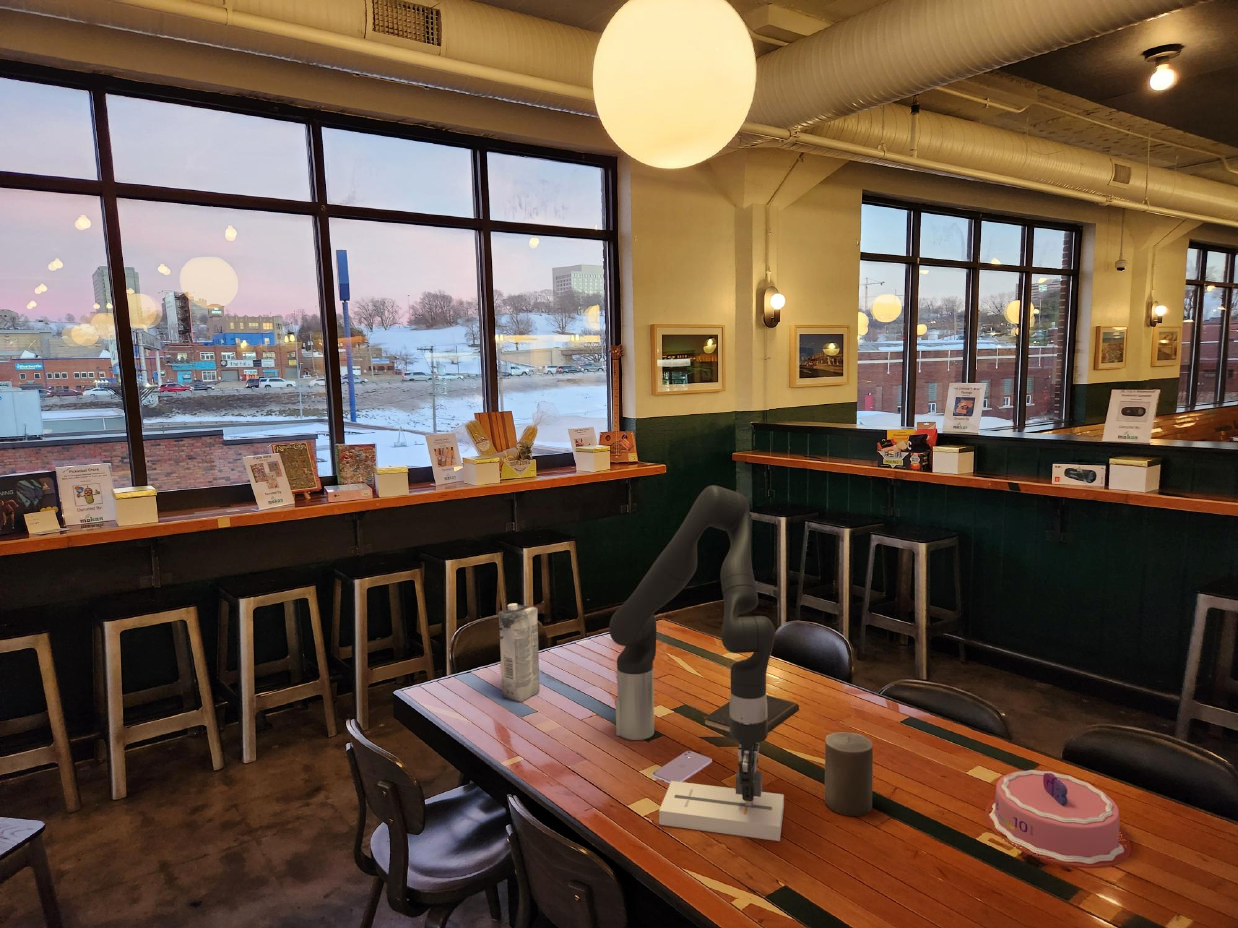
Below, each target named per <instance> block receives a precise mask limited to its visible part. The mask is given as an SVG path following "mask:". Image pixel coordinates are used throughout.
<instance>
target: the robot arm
mask: <svg viewBox="0 0 1238 928" xmlns="http://www.w3.org/2000/svg"><path fill="white" fill-rule="evenodd" d="M710 527H712V528H715V529H718V530H721V531H723V532H726V533H727V535H728V538H729V542H730V546H729V547H730V548H729V550H728V553H727V555H725V558H724V561H723V562H722V564H721V568H720V573H719V574H720V585H721V591H722V592H721V593H722V597H723V604H724V605H723V606H724V609H723V610H724V611H723V612H724V613H723V621H722V627H721V632H720V636H721V637H720V639H721V644H722V646H723V647H724V649H725V650H726V651H727V652H730V654H743V653H744V654H745V653H747V654H748V653H752V654H751V656H750V657H747V658H745V659H742V660H738V661H736V662H735V663H733V664H732V665H731V668H730V696H729V697H730V698H729V702H730V732H729V735H730V737H731V739H732V740H734V741H736V742H738V743H739V746H738V747H737V756H738V763H737V764H738V765H737V766H738V770H739V776H740V785H742V799H743V800H744V801H753V799H754V782H755V780H754V773H755V772H758V769H757V768H758V766H757V765H758V763H759V759H760V758H759V752H760V743H762V742H765V740H766V739H767V738H768V733H767V698H766V695H767V669H768V665H769V661H770V658H771V654H772V651H773V648H774V643H775V638H776V629H775V625H774V623H773V622H772V621H771V619H770V618H769V617H767V616H763V615H754V616H740V615H742V614H746V613H749V612H752V611H753V610H755V609H756V608H757V607H758V604H759V594H758V589H757V584H756V580H755V576H754V570H753V564H752V563H753V562H752V543H751V542H752V536H751V535H752V534H751V511H750V504H749V502H748V499H747V497H745V495H743V494H741V493H739V492H737V491H734V490H731V489H728V488H725V487H722V486H719V485H709V486H707V487H705V488H704V489H703V490H702V492H700V494H699V495H698V497H697V498H696V500H695V501H694V503H693V505H692V507H691V508H690V509H689V512H688V513H687V515H686V516H685V518H684V520H683V522H682V524H681V525H680V527H679V529H678V530H677V531H676V532H675V534H674V536H673V537H672V539H671V540H670V541H669V542H668V544H667V546H665V548H664V549H663V550H662V552H661V553H660V554H659V555H658V556H657V558H656V560H655V561H654V562H653V564H652V565H651V567H650V569H649V570H648V571H647V573H646V574H645V576H644V577H643V578H642V580H641V581H640V582H639V584H638V586H637V587H636V588H635V590H634V591H633V592H632V593H631V594H630V596H629V598H627V600H625V601H624V603H623V604H622V605H621V606H620V607H619V608H618V609H617V610H616V611H615V612H614V613H613V614H612V616H611V618H610V620H609V625H608V628H609V635H610V637H611V640H612V641H613V642H614V643H615V644H617V645H619V646H621V647H624V648H623V650H622V651H621V652H620V654H619V655H618V656H617V659H616V675H617V676H616V678H617V679H616V681H617V683H616V685H617V696H616V698H615V700H614V701H615V732H616V733H615V735H616V736H618V737H621V738H623V739H626V740H631V741H642V740H646V739H649V738H651V737H652V736H653V735H654V734H655V705H654V704H655V703H654V701H655V700H654V699H655V698H654V695H655V693H654V661H655V658H656V653H657V621H656V616H655V613H656V612H657V611H658V610H660V609H661V608H662V607H664V606H665V605H666V604H667V603H668V602H670V601H671V600H672V599H674V598H675V597H676V596H677V595H678V594H679V593H680V592H681V591H682V590H683V589H684V588H685V587H686V586H687V584H688V583H689V582H690V580H691V579H692V578H693V576H694V575H695V573H696V571H697V569H698V541H699V540H700V537H701V536H702V535H703V533H704V532H705V530H706V529H707V528H710Z"/></svg>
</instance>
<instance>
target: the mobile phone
mask: <svg viewBox="0 0 1238 928" xmlns="http://www.w3.org/2000/svg"><path fill="white" fill-rule="evenodd" d="M712 762H713V760H712V758H711V757H709V756H705V755H703V754H700V753H697V752H694V751H692V750H687V751H685V752H683V753H682V754H680V755H679V756H677V757H676V758H674V759H671V761H669V762H667V763H666V764H664V765H663V766H661V767H659V768H658V769H657V770H655V771H653V772H652V774H651V777H652V778H655V779H656V780H659V781H661V782H664V783H666V784H668V785H670V783H671V781H676V782H685V781H686V780H688V779H690V778H691V777H693V776H694V775H696V773H698V772H700V771H701V770H703V769H704V768H705V767H707V766H709V765H710V764H712Z"/></svg>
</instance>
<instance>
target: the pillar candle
mask: <svg viewBox="0 0 1238 928" xmlns="http://www.w3.org/2000/svg"><path fill="white" fill-rule="evenodd" d="M824 743H825V745H824V747H825V748H824V803H825V805H826V806H827V807H828V808H829V809H830V810H831V811H833V812H835V813H837V814H840V815H843V816H849V817H850V816H851V817H860V816H861V817H862V816H865V815H867V814H869V813H870V812H871V811H872V809H873V772H874V771H873V768H874V766H873V761H874V759H873V758H874V757H873V754H874V753H873V751H874V749H873V748H874V745H873V742H872V741H871V740H870V739H869V738H867V737H866V736H864V735H863V734H859V733H855V732H848V731H847V732H846V731H845V732H843V731H840V732H833V733H829V734H827V735H826V736H825V740H824Z"/></svg>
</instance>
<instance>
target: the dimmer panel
mask: <svg viewBox="0 0 1238 928" xmlns="http://www.w3.org/2000/svg"><path fill="white" fill-rule="evenodd" d="M784 800H785V794H783V793H782V794H781V793H774V792H767V791H766V792H765V791H762V793H761V797H757V796H754V799H753V806H751V807H749V806H746V805H745V801H744V800H743V799H742V795H741V794H736V788H733V787H724V786H716V785H708V784H700V783H692V782H691V783H690V782H685V781H683V782H676V781H671V783H670V784H669V785H668V788H667V790H666V792H665V795H664V798H663V800H662V802H661V805H660V807H659V810H658V820H659V823H658V824H659V825H661V826H667V827H675V828H682V829H689V830H695V831H696V830H697V831H703V832H710V833H717V834H718V833H719V834H726V835H732V836H740V837H746V838H747V837H748V838H754V839H761V840H769V841H776V842H781V835H782V834H781V833H782V826H783V817H784V809H785V801H784Z"/></svg>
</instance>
